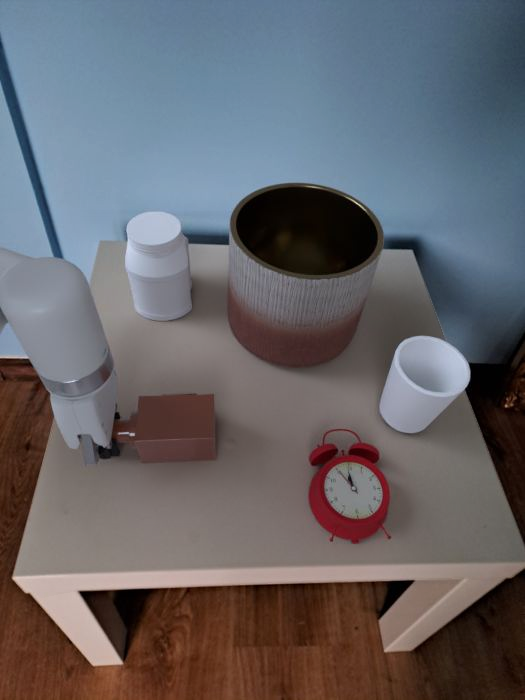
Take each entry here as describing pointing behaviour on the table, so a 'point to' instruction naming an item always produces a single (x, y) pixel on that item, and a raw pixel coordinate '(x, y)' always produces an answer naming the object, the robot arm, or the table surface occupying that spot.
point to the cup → (422, 383)
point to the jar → (158, 266)
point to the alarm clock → (349, 491)
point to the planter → (300, 271)
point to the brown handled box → (170, 428)
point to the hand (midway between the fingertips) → (109, 440)
